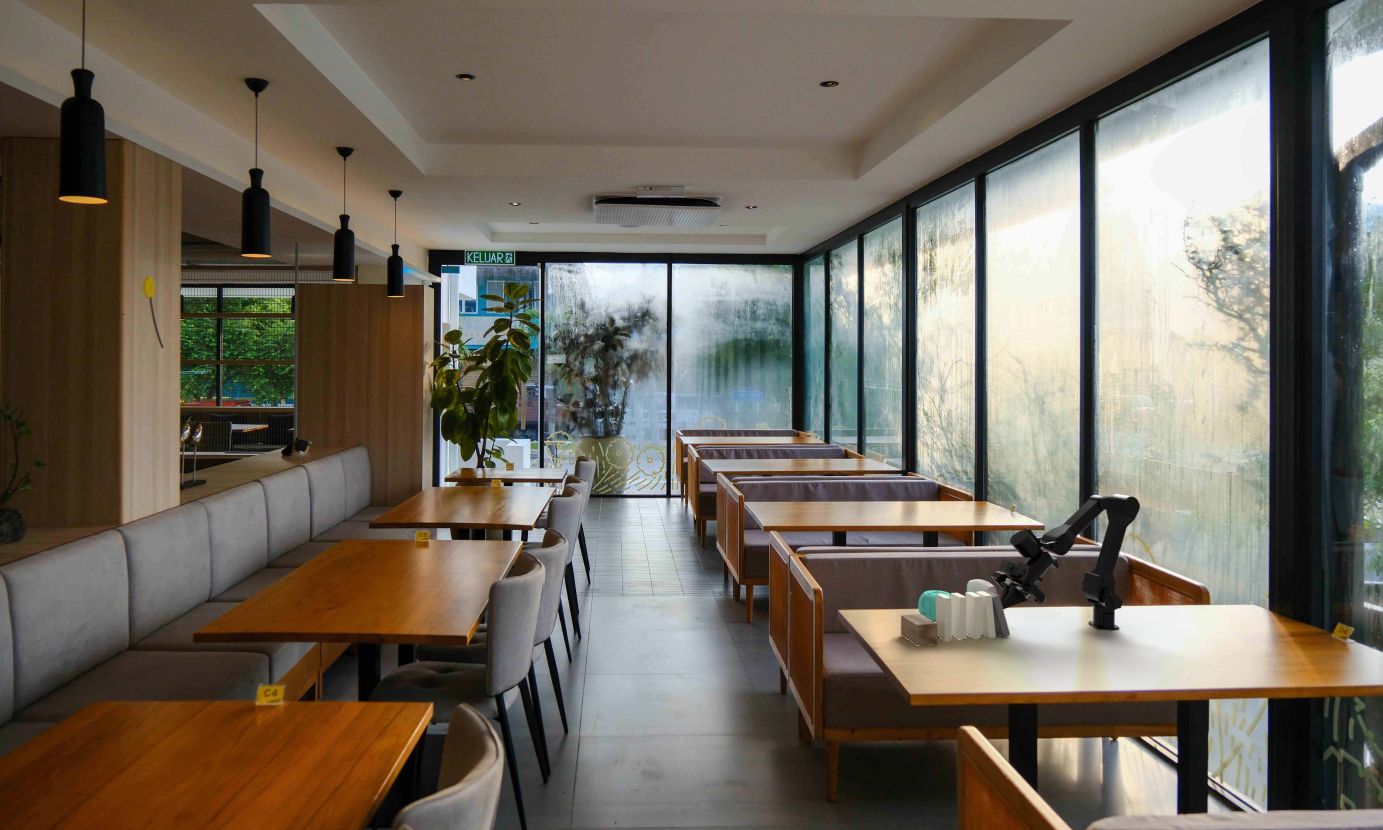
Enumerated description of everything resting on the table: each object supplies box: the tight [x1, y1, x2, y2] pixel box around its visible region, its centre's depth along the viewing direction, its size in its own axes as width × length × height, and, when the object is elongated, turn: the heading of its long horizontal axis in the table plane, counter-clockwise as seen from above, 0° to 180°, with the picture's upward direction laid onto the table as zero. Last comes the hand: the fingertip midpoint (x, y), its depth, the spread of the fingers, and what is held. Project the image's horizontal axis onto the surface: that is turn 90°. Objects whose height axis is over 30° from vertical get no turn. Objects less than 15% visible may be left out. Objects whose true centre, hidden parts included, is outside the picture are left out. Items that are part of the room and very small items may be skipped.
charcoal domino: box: [986, 591, 1011, 638], centre depth 237 cm, size 2×5×12 cm, turn 13°
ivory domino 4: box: [976, 591, 997, 639], centre depth 237 cm, size 2×5×12 cm, turn 11°
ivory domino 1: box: [936, 594, 952, 642], centre depth 235 cm, size 2×5×12 cm, turn 11°
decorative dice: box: [917, 589, 951, 622], centre depth 254 cm, size 8×8×8 cm
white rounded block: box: [966, 578, 998, 595], centre depth 252 cm, size 10×4×12 cm, turn 20°
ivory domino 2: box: [950, 592, 967, 641], centre depth 235 cm, size 2×5×12 cm, turn 11°
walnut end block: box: [900, 613, 938, 646], centre depth 233 cm, size 6×10×6 cm, turn 11°
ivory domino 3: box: [965, 591, 982, 640], centre depth 236 cm, size 2×5×12 cm, turn 11°
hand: (999, 608), depth 238 cm, fingers closed
